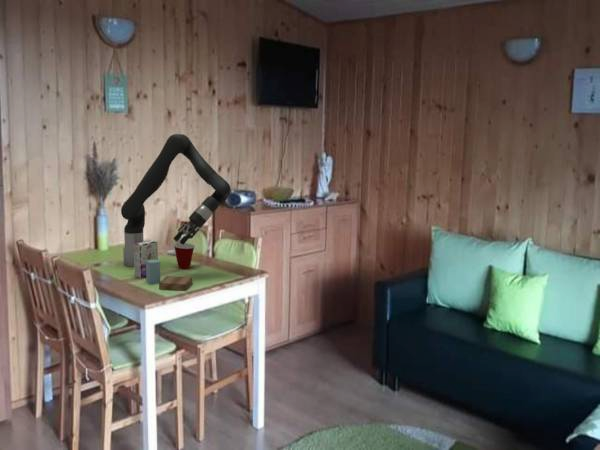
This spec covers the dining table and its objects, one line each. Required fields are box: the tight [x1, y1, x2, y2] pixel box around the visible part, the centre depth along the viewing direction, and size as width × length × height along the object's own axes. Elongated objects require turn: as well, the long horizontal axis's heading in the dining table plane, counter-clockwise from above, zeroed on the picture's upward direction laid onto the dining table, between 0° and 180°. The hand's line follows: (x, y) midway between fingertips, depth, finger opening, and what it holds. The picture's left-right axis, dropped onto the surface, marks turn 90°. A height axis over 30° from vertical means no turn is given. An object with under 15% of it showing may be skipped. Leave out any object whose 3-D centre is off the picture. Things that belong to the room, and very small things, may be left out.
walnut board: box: [158, 275, 193, 292], centre depth 272 cm, size 12×12×3 cm
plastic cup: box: [173, 242, 196, 270], centre depth 305 cm, size 11×11×12 cm
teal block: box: [145, 259, 161, 285], centre depth 277 cm, size 5×5×10 cm
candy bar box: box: [133, 239, 159, 279], centre depth 288 cm, size 11×5×16 cm, turn 148°
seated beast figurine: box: [166, 233, 185, 256], centre depth 333 cm, size 10×9×12 cm
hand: (178, 241), depth 281 cm, fingers open, 8 cm apart
